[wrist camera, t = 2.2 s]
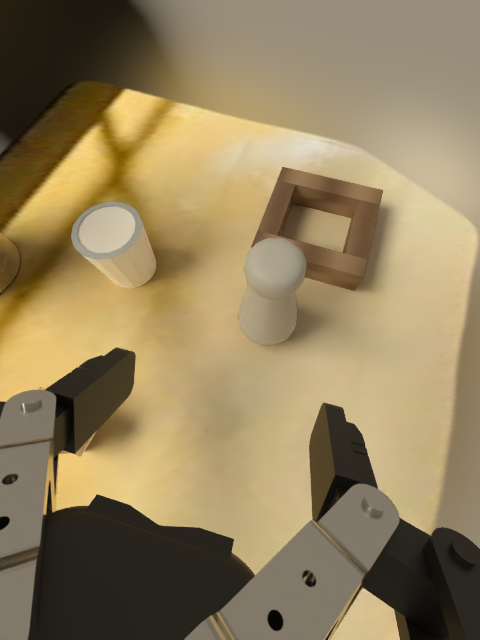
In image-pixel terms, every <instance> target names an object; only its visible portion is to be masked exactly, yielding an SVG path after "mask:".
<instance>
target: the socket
mask: <svg viewBox="0 0 480 640" xmlns="http://www.w3.org/2000/svg"><path fill="white" fill-rule="evenodd" d="M382 193H383V190H380V189H376V188H371V187H367V186H363V185H358V184H354V183H350V182H345V181H341V180H337V179H332V178H328V177H324V176H319V175H315V174H311V173H306V172H302V171H298V170H293V169H289V168H285V167H282V170H281V172H280V175H279V178H278V180H277V183H276V185H275V188H274V190H273V193H272V195H271V198H270V201H269V203H268V206H267V208H266V211H265V213H264V216H263V218H262V221H261V224H260V226H259V229H258V231H257V234H256V236H255V239H254V241H253V244H252V246H251V249H252V247H253V246H254V245H255V244H256V243H258V242H260V241H262V240H265V239H267V238H283V239H286V240H288V241H291V242H293V243H294V244H296V245H297V246H298V247H299V248H300V249H301V250H302V252H303V254H304V257H305V259H306V272H305V277H307V278H311V279H314V280H318V281H321V282H325V283H328V284H332V285H336V286H339V287H343V288H346V289H350V290H353V291H354V290H355V288H356V287H357V286H358V284H359V283H360V282H361V280H362V279H363V277H364V273H365V269H366V264H367V260H368V255H369V251H370V247H371V242H372V238H373V233H374V229H375V224H376V220H377V215H378V211H379V206H380V202H381V198H382ZM292 203H293V204H297V205H302V206H306V207H310V208H314V209H318V210H322V211H326V212H330V213H334V214H338V215H342V216H346V217H350V218H352V219H351V223H350V227H349V231H348V234H347V238H346V242H345V246H344V250H343V253H341V252H337V251H333V250H329V249H326V248H322V247H318V246H314V245H311V244H307V243H303V242H299V241H296V240H292V239H288V238H284V237H280V235H281V233H282V230H283V227H284V224H285V221H286V219H287V216H288V213H289V210H290V207H291V205H292Z"/></svg>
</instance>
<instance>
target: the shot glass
mask: <svg viewBox="0 0 480 640" xmlns="http://www.w3.org/2000/svg"><path fill="white" fill-rule="evenodd" d="M71 239H72V242H73V246H74V248H75V249H76V250H77V251H78V252H79V253H80V254H81V255H82V256H84V257H85V258H86V259H87V260H88V261H89V262H91V263H92V264H93V265H94V266H95V267H96V268H98V269H99V270H100V271H101V272H102V273H103V274H105V275H106V276H107V277H108V278H109V279H110V280H112V281H113V282H114V283H115V284H116V285H117V286H120V287H123V288H136V287H139V286H141V285H144V284H145V283H146V282H147V281H149V280H150V279H151V278H152V276H153V274H154V273H155V271H156V259H155V256H154V254H153V251H152V248H151V245H150V242H149V239H148V237H147V234H146V231H145V228H144V225H143V222H142V220H141V218H140V215H139V213H138V211H136V210H135V209H134V208H133V207H132V206H130V205H128V204H125V203H121V202H118V201H115V202H103V203H100V204H98V205H95V206H92V207H90V208H89V209H88V210H86V211H85V212H84V213H82V214H81V215H80V216H79V218H78V219H77V220H76V222H75V223H74V225H73V229H72V233H71Z"/></svg>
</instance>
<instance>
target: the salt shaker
mask: <svg viewBox="0 0 480 640" xmlns="http://www.w3.org/2000/svg"><path fill="white" fill-rule="evenodd" d="M244 271H245V276H246V280H247V283H248V288H247V290H246V293H245V296H244V299H243V301H242V304H241V307H240V312H239V316H238V319H239V322H240V326H241V330H242V331H243V333H244V334H245V335H246V336H247V337H248V338H249V339H250V340H251V341H253V342H255V343H258V344H260V345H276V344H278V343H280V342H282V341H284V340H286V339H288V338H289V336H290V335H291V333H292V332H293V331H294V329H295V327H296V321H297V304H296V291H297V289H298V288H299V287H300V285H301V284H302V282H303V280H304V278H305V272H306V259H305V257H304V254H303V252H302V250H301V249H300V248H299V247H298V246H297V245H296V244H294V243H293V242H291V241H288V240H286V239H283V238H267V239H265V240H262V241H260V242H258V243H256V244H255V245H254V246H253V247H252V249H251V250H250V251H249V252H248V254H247V258H246V263H245V267H244Z"/></svg>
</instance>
